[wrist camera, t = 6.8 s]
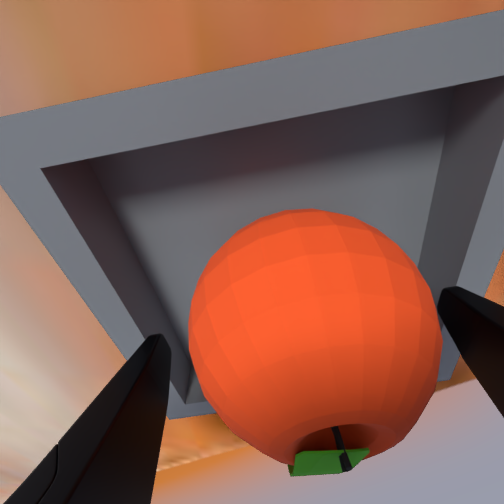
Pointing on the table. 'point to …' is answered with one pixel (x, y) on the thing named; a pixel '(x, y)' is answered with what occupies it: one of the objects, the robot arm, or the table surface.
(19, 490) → the robot arm
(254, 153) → the tray
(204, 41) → the table surface
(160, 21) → the table surface
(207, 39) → the table surface
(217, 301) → the clementine
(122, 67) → the table surface
